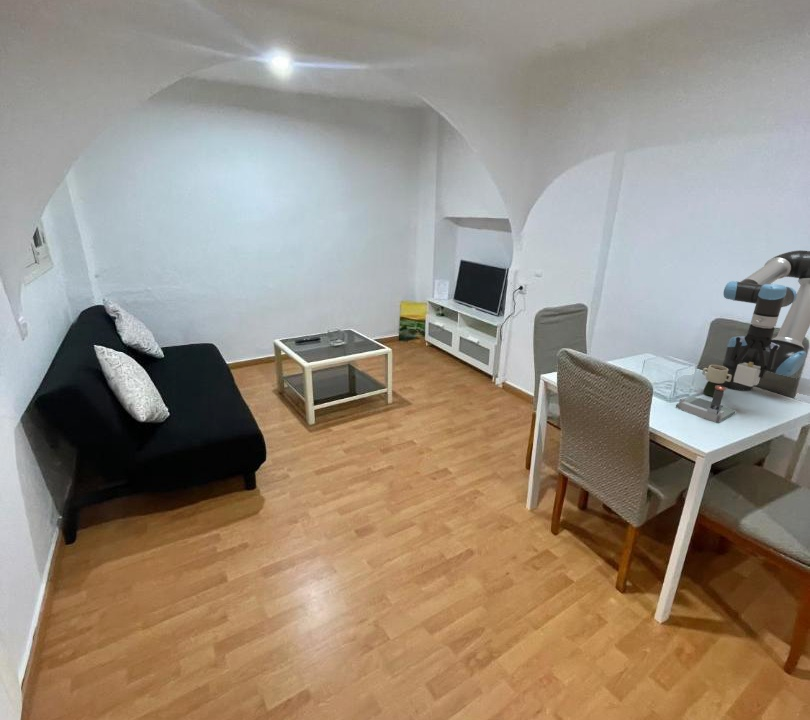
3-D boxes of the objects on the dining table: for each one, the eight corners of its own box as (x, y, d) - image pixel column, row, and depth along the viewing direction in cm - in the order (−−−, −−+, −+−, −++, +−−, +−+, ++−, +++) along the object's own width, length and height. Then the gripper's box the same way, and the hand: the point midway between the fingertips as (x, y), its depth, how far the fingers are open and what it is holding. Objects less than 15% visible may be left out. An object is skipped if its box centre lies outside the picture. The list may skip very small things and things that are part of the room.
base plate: (692, 399, 185) (694, 390, 184) (734, 414, 173) (737, 404, 171) (675, 407, 177) (677, 397, 176) (718, 423, 165) (721, 413, 163)
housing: (739, 378, 175) (745, 358, 172) (757, 383, 171) (763, 363, 168) (733, 381, 172) (739, 361, 169) (750, 386, 167) (757, 366, 164)
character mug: (728, 397, 188) (736, 369, 184) (721, 401, 184) (730, 372, 180) (700, 388, 196) (708, 362, 192) (694, 392, 193) (701, 365, 188)
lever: (710, 409, 169) (717, 384, 165) (719, 412, 166) (727, 387, 163) (706, 411, 167) (714, 386, 164) (716, 414, 165) (723, 389, 161)
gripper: (729, 321, 169) (714, 375, 177) (790, 333, 154) (771, 391, 162) (737, 318, 173) (722, 372, 181) (797, 329, 158) (778, 387, 166)
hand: (745, 381), depth 171 cm, fingers closed on housing, 6 cm apart
